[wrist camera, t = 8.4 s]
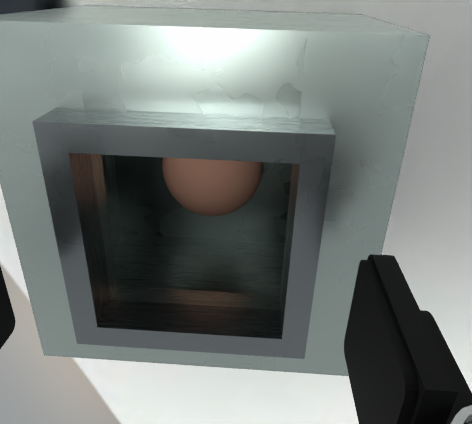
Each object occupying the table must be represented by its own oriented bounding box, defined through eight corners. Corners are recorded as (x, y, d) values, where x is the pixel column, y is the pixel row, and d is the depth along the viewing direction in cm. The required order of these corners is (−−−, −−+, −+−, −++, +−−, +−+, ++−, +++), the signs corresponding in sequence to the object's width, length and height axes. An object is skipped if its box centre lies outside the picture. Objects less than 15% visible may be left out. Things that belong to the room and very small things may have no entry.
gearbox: (360, 14, 18) (451, 41, 9) (321, 278, 25) (352, 444, 16) (85, 5, 19) (-80, 23, 10) (118, 266, 25) (36, 420, 16)
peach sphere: (266, 105, 20) (264, 135, 16) (261, 192, 22) (258, 237, 18) (171, 101, 20) (147, 129, 16) (175, 187, 22) (154, 231, 18)
